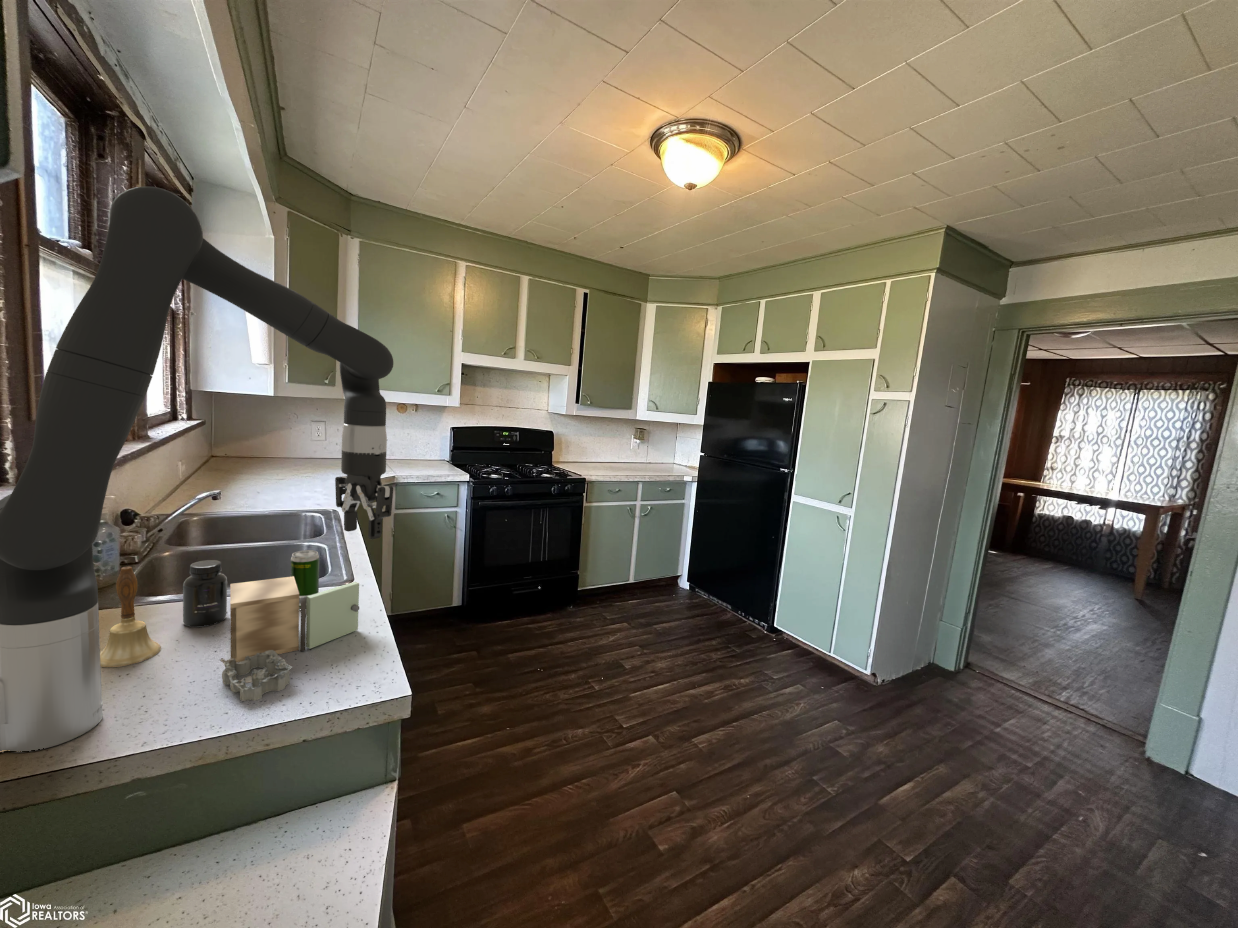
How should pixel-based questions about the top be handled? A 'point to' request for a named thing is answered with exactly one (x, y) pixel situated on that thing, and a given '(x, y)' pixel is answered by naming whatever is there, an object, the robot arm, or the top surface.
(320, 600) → the door
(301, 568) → the beer can
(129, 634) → the hand bell
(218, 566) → the supplement bottle
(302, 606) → the cupboard
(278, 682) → the egg carton
